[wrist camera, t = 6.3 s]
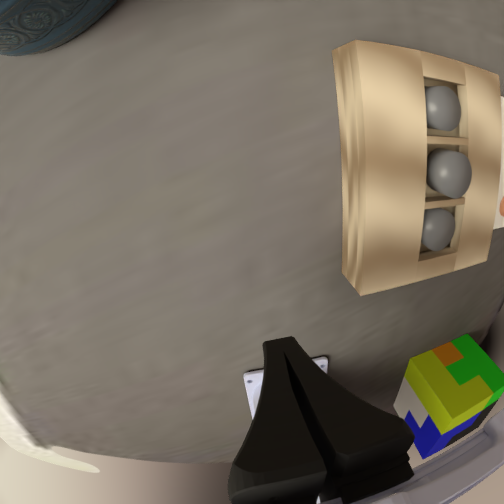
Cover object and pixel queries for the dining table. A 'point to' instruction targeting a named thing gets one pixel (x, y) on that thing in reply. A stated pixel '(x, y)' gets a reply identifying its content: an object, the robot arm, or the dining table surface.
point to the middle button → (448, 172)
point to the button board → (411, 163)
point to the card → (501, 181)
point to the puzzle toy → (448, 393)
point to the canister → (45, 23)
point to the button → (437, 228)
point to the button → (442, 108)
